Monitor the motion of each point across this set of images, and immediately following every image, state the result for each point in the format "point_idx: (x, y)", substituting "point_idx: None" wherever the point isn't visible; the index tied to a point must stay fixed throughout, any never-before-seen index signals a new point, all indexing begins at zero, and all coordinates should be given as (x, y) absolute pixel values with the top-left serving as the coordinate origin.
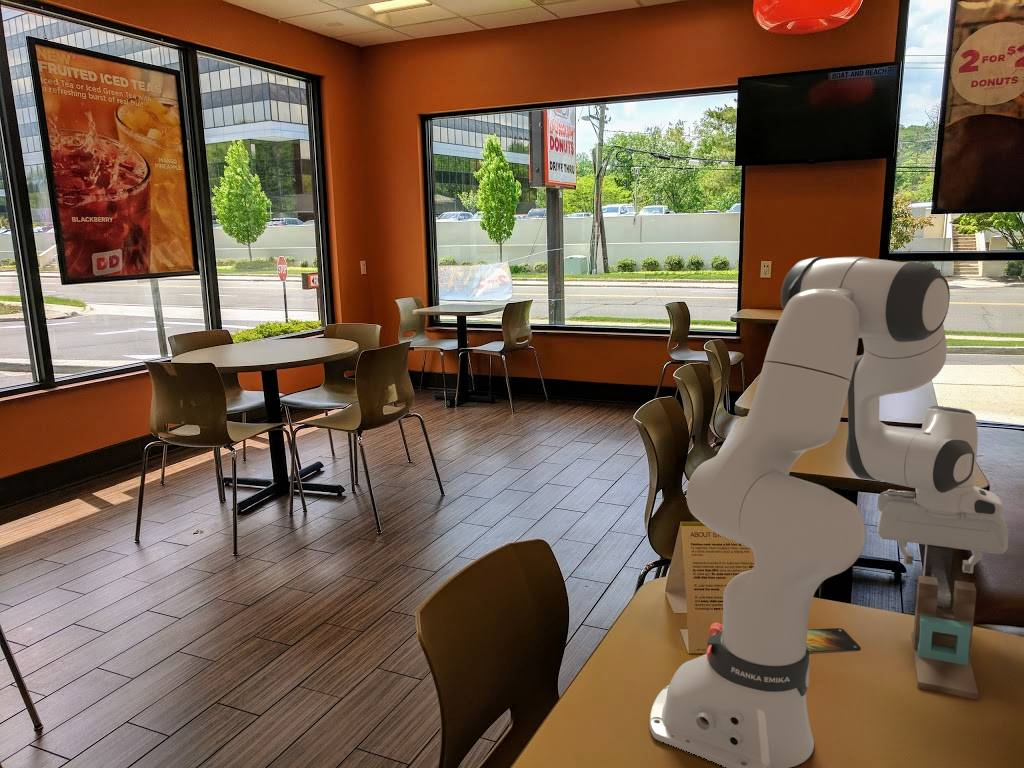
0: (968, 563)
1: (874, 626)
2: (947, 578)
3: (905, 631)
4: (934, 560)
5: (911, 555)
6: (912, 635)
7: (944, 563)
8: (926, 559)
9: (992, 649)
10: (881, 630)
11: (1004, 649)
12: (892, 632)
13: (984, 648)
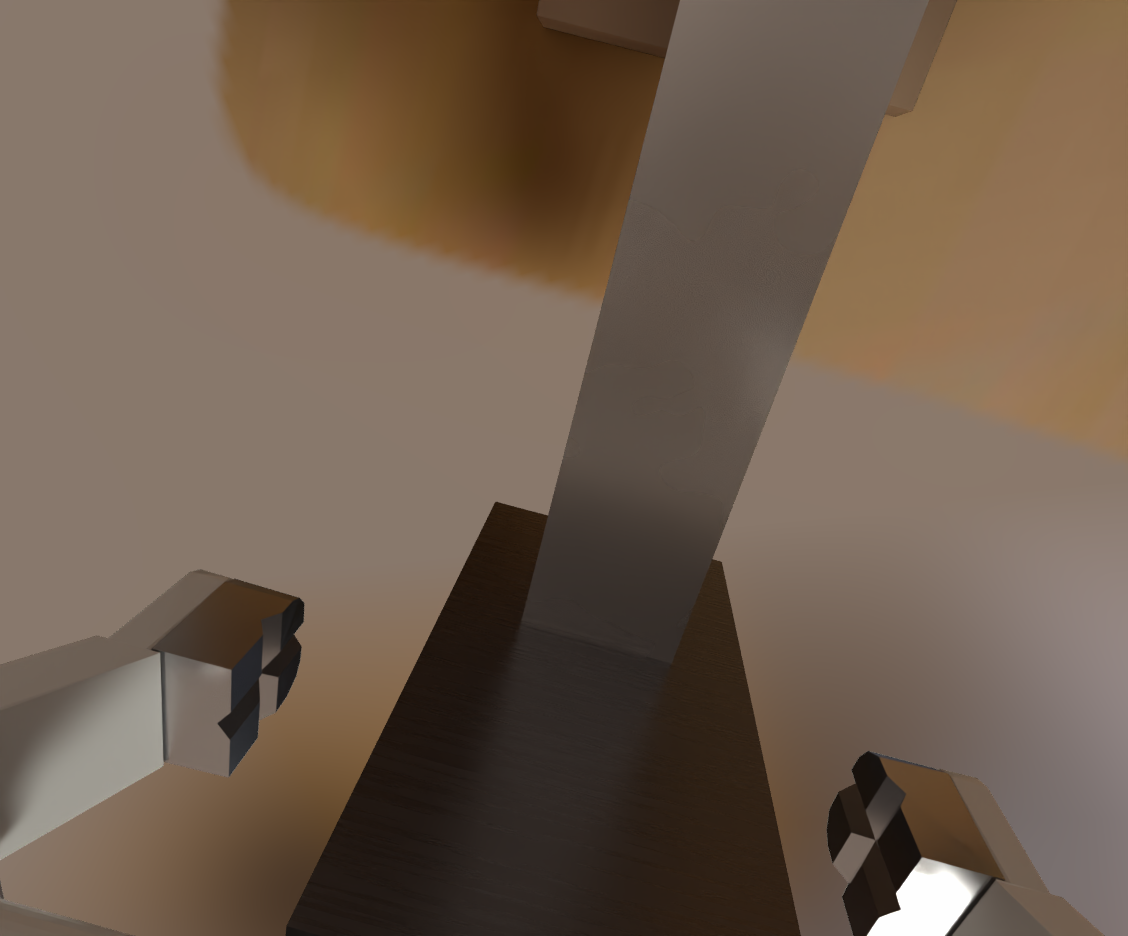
0: (174, 678)
1: (1108, 257)
2: (503, 546)
3: (895, 210)
4: (647, 746)
5: (923, 891)
6: (940, 37)
7: (509, 688)
8: (762, 775)
9: (361, 22)
10: (1086, 197)
11: (283, 40)
12: (1010, 177)
13: (411, 27)
